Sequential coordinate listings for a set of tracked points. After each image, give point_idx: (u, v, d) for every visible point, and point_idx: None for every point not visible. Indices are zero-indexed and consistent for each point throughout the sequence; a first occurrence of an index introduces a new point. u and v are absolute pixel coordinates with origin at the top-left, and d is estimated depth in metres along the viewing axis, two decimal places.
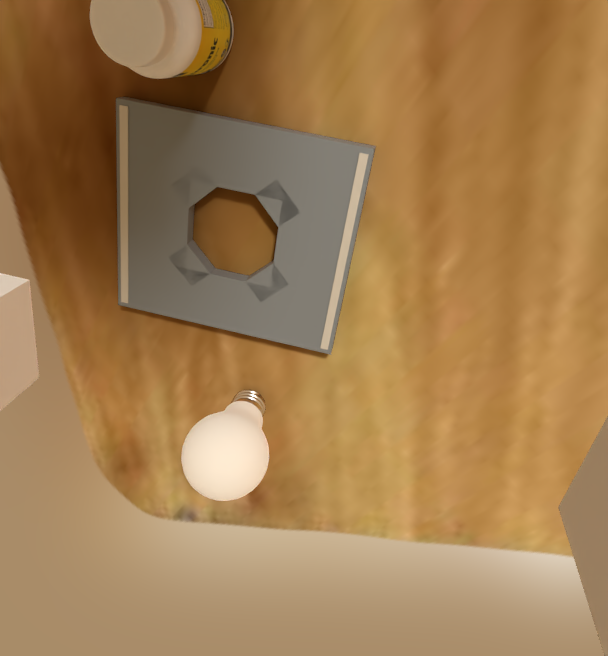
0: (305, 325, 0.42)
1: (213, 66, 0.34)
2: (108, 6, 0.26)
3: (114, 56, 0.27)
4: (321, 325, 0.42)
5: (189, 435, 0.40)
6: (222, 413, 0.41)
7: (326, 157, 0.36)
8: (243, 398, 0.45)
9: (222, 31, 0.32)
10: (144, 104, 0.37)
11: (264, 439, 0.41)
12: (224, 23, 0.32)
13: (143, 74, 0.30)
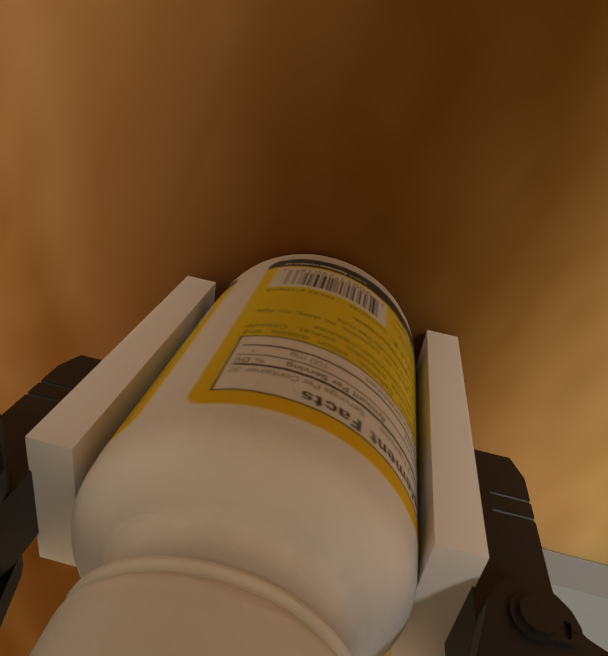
0: None
1: None
2: None
3: None
4: None
5: None
6: None
7: None
8: None
9: None
10: None
11: None
12: None
13: None
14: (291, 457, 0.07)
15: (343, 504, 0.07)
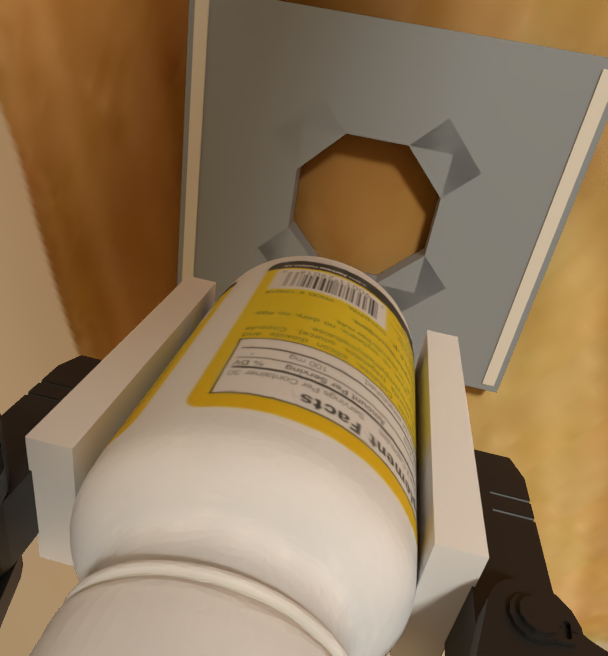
0: (463, 350, 0.28)
1: None
2: None
3: None
4: (489, 349, 0.28)
5: None
6: None
7: (541, 79, 0.22)
8: None
9: None
10: None
11: None
12: (415, 402, 0.12)
13: None
14: (290, 461, 0.07)
15: (343, 508, 0.07)
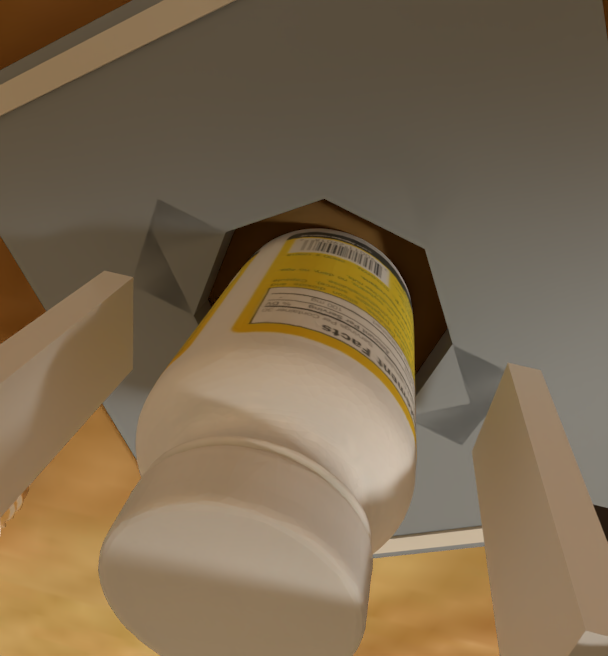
0: None
1: None
2: (164, 564, 0.07)
3: None
4: None
5: None
6: None
7: None
8: None
9: None
10: None
11: None
12: (414, 351, 0.14)
13: None
14: (316, 368, 0.09)
15: (357, 404, 0.09)
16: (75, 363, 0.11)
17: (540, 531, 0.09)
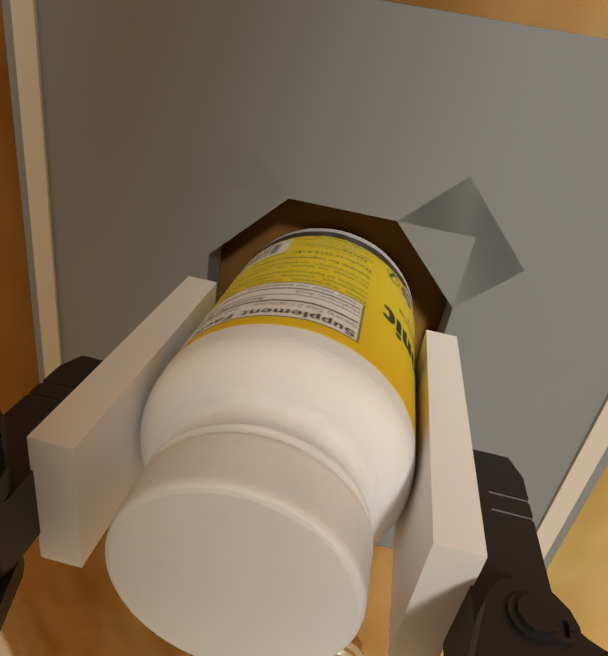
0: None
1: (414, 333, 0.14)
2: (166, 595, 0.08)
3: None
4: None
5: None
6: None
7: None
8: None
9: (374, 279, 0.13)
10: None
11: None
12: (360, 262, 0.13)
13: None
14: (175, 368, 0.09)
15: (213, 360, 0.09)
16: None
17: (423, 470, 0.09)
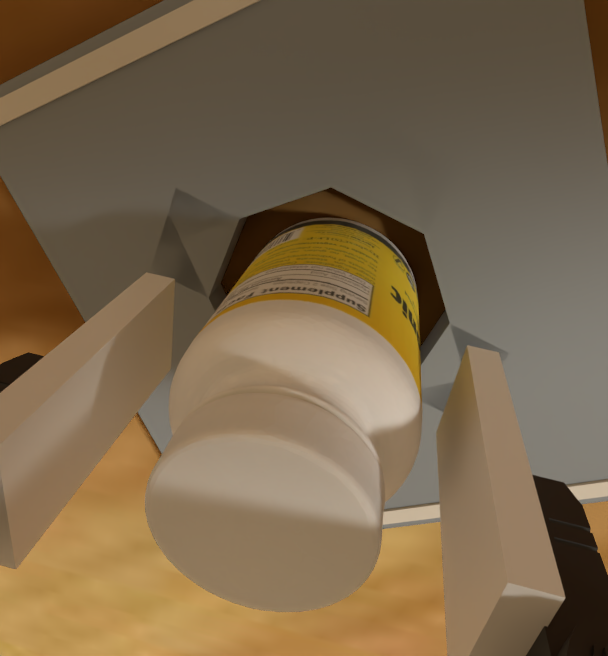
0: None
1: None
2: (200, 540, 0.09)
3: (308, 602, 0.09)
4: None
5: None
6: None
7: (602, 425, 0.16)
8: None
9: (381, 263, 0.14)
10: None
11: None
12: (368, 248, 0.14)
13: None
14: (203, 340, 0.10)
15: (238, 331, 0.10)
16: (125, 363, 0.12)
17: (481, 498, 0.09)
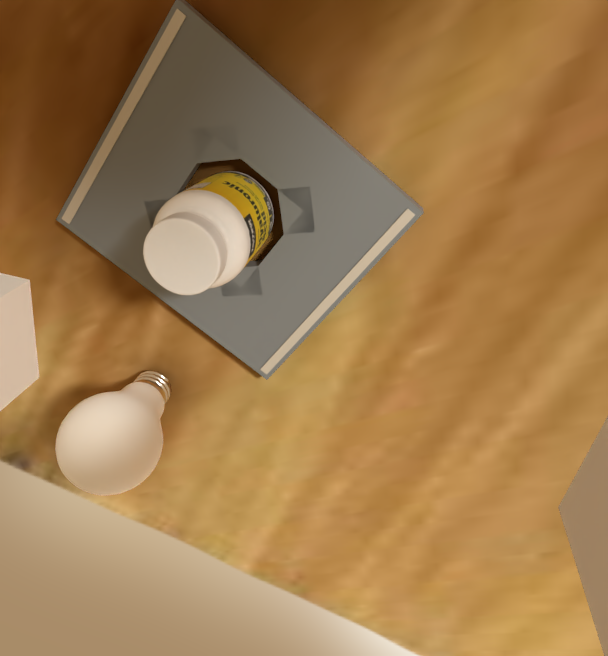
0: (257, 341, 0.38)
1: (260, 193, 0.33)
2: (169, 274, 0.27)
3: (211, 276, 0.26)
4: (274, 348, 0.38)
5: (81, 408, 0.33)
6: (128, 398, 0.35)
7: (372, 194, 0.32)
8: (152, 381, 0.40)
9: (222, 177, 0.31)
10: (207, 25, 0.29)
11: (162, 443, 0.36)
12: (218, 175, 0.32)
13: (243, 256, 0.28)
14: (153, 225, 0.29)
15: (159, 213, 0.28)
16: None
17: None
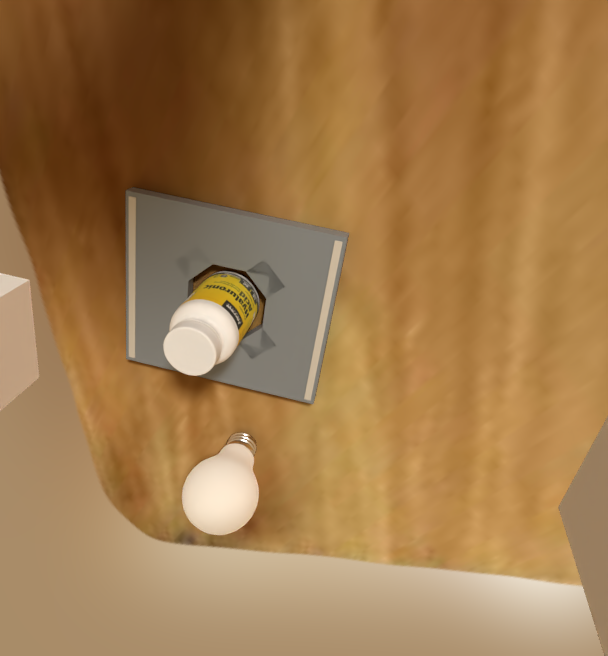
0: (290, 379, 0.48)
1: (235, 279, 0.44)
2: (188, 365, 0.39)
3: (212, 354, 0.38)
4: (305, 379, 0.48)
5: (189, 478, 0.46)
6: (217, 458, 0.47)
7: (306, 243, 0.42)
8: (237, 440, 0.51)
9: (205, 283, 0.43)
10: (150, 196, 0.42)
11: (254, 480, 0.47)
12: (202, 283, 0.44)
13: (232, 330, 0.40)
14: None
15: (169, 328, 0.41)
16: None
17: None
